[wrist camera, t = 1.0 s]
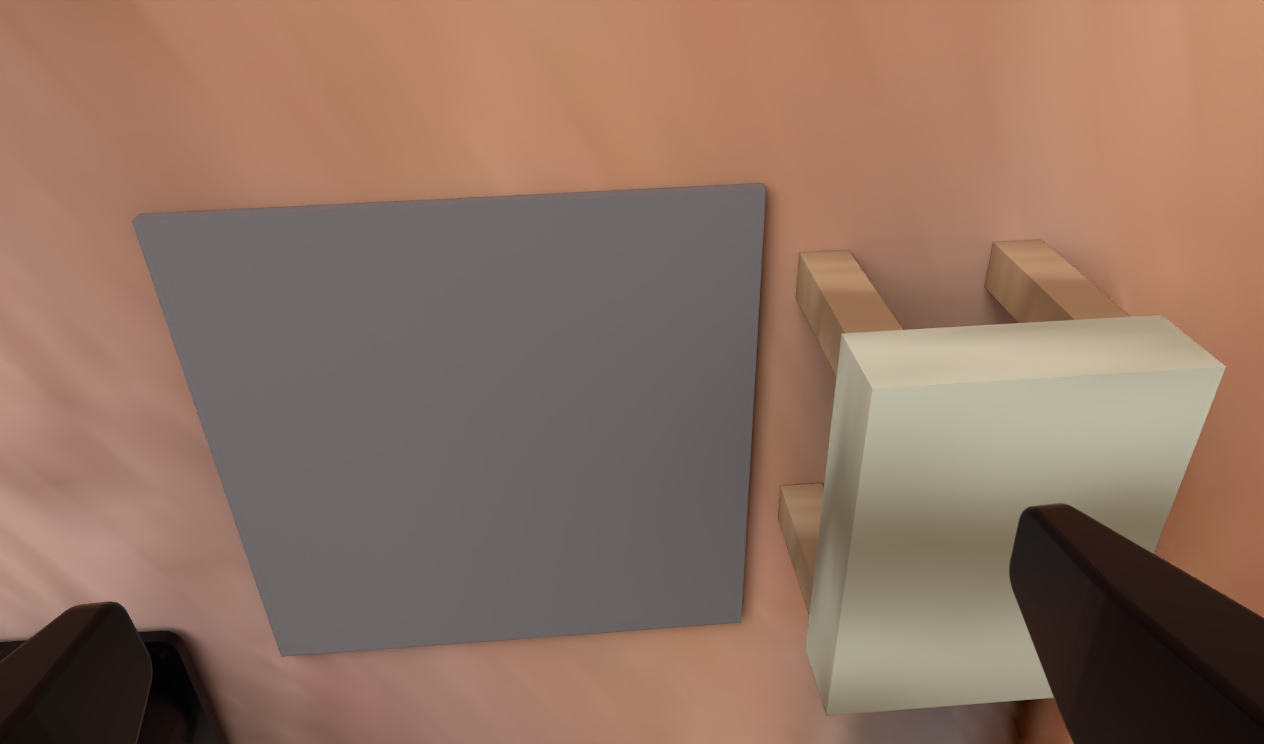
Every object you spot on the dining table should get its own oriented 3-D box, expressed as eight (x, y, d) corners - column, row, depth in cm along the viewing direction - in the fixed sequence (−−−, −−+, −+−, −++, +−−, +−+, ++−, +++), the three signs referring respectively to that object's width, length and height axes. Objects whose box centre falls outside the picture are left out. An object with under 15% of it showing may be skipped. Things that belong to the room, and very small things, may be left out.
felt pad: (738, 612, 28) (741, 622, 27) (284, 646, 27) (281, 656, 27) (762, 183, 20) (765, 189, 20) (139, 214, 20) (131, 221, 19)
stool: (985, 511, 26) (1099, 693, 21) (768, 526, 26) (826, 716, 20) (1053, 227, 22) (1225, 367, 16) (790, 241, 21) (872, 388, 16)
